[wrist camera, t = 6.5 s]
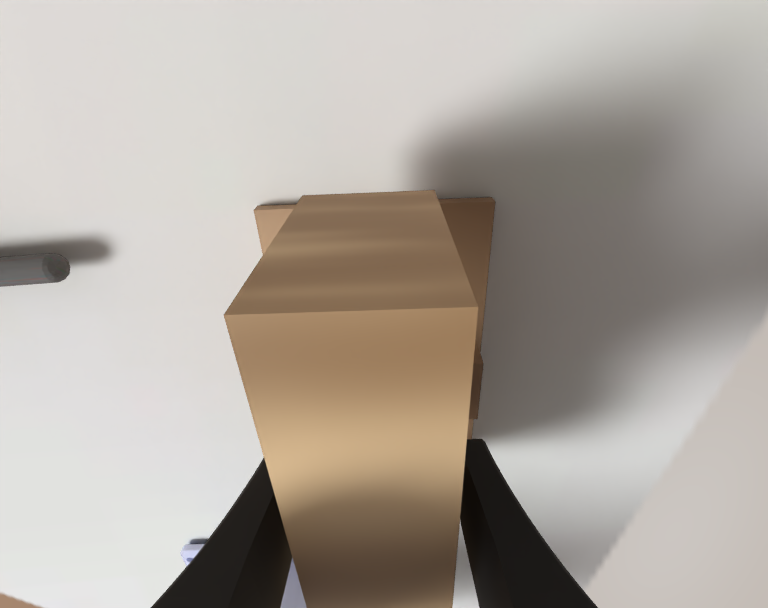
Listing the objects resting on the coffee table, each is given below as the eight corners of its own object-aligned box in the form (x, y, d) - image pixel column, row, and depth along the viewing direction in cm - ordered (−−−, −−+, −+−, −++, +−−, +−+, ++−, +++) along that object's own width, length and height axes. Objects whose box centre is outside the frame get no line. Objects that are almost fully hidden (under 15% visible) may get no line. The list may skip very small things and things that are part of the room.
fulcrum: (468, 442, 20) (480, 498, 17) (305, 445, 20) (293, 501, 17) (492, 197, 14) (515, 227, 11) (257, 205, 14) (228, 237, 11)
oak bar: (428, 512, 18) (444, 695, 13) (348, 513, 18) (331, 696, 13) (434, 190, 11) (478, 306, 6) (302, 195, 11) (223, 314, 6)
